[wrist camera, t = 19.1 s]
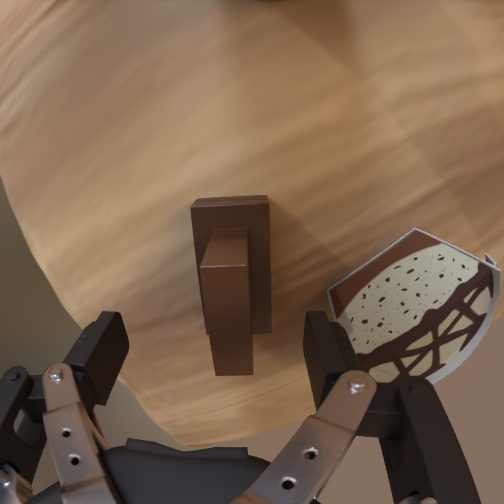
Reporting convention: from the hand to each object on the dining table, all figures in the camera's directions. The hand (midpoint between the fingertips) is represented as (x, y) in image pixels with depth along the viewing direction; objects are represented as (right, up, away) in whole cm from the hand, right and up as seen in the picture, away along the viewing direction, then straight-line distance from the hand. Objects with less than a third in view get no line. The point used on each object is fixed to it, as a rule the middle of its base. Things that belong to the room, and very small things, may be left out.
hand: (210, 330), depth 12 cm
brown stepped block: (+1, +3, +11) cm, 11 cm away
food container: (+13, +1, +12) cm, 18 cm away
